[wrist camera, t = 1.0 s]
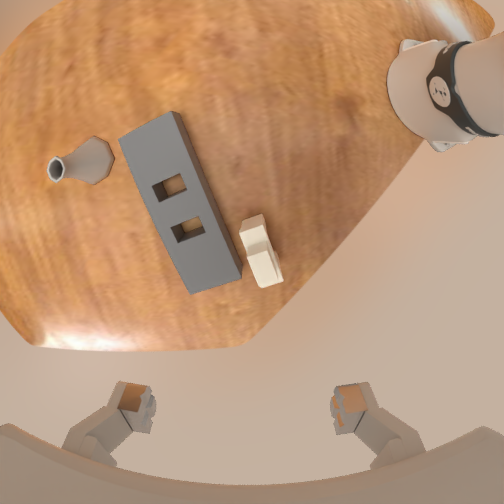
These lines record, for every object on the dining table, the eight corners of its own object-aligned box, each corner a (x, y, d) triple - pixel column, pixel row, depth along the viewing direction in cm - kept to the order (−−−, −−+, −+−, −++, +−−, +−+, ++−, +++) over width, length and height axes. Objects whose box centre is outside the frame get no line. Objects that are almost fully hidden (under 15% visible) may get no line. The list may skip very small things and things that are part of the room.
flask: (122, 158, 35) (86, 166, 26) (95, 192, 37) (58, 209, 28) (94, 127, 33) (55, 129, 24) (70, 162, 35) (30, 172, 26)
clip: (261, 210, 38) (263, 233, 30) (279, 259, 41) (286, 293, 33) (241, 217, 39) (237, 242, 30) (260, 266, 42) (262, 300, 33)
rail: (179, 113, 33) (171, 110, 29) (242, 265, 42) (241, 278, 38) (130, 138, 34) (117, 139, 30) (195, 281, 43) (190, 294, 39)
